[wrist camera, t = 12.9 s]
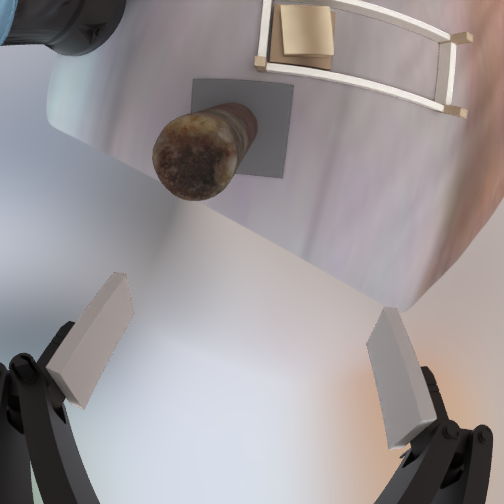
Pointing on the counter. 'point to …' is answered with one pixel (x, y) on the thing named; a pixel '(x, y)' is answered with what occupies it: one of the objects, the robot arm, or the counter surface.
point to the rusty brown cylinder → (203, 150)
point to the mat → (267, 115)
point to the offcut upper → (306, 31)
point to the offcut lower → (306, 62)
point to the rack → (444, 86)
